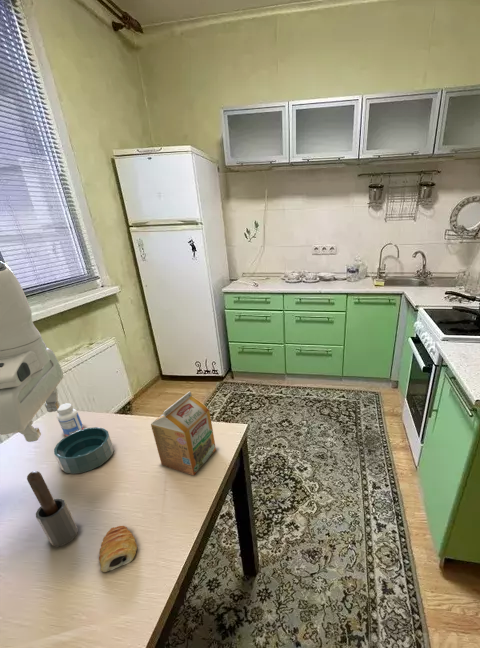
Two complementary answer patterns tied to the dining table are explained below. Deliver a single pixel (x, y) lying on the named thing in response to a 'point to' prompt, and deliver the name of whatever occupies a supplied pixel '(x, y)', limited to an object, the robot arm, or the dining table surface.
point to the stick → (42, 493)
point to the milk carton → (184, 435)
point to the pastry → (117, 548)
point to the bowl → (84, 450)
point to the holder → (58, 524)
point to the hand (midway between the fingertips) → (45, 423)
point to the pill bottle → (69, 419)
